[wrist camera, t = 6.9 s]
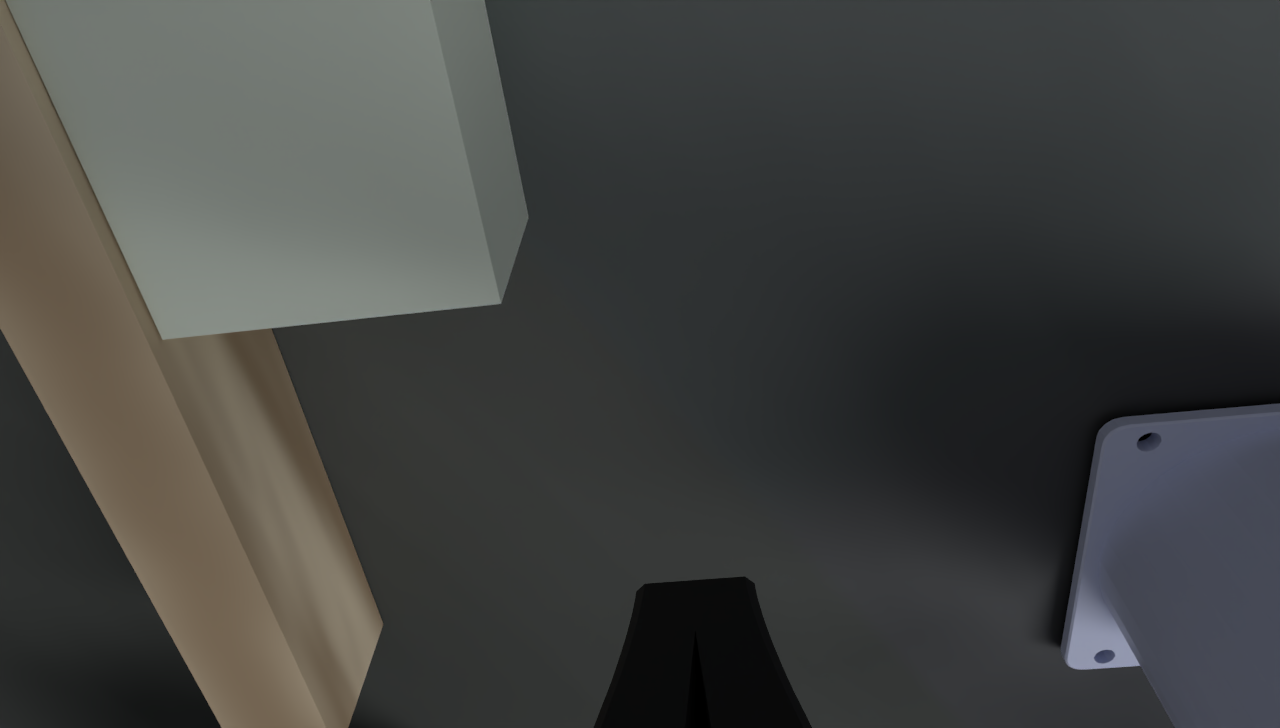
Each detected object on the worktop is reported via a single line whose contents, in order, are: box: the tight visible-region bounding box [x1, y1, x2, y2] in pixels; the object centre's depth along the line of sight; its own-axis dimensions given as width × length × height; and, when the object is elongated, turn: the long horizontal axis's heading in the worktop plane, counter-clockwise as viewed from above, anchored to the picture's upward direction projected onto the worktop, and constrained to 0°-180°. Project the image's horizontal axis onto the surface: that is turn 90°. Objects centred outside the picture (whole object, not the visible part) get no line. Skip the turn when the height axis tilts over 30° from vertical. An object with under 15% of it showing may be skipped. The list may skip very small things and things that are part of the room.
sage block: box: [6, 0, 529, 340], centre depth 15 cm, size 6×8×4 cm
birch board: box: [0, 0, 383, 728], centre depth 17 cm, size 2×22×4 cm, turn 7°
